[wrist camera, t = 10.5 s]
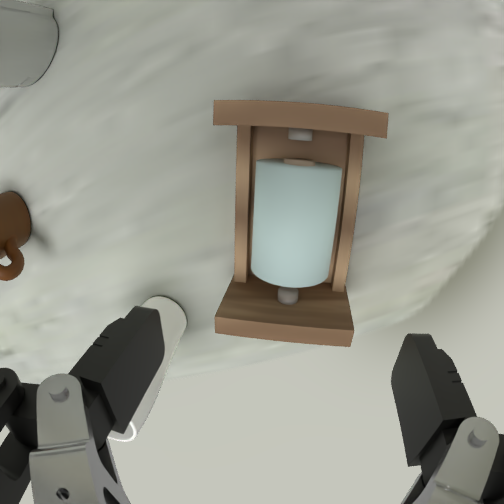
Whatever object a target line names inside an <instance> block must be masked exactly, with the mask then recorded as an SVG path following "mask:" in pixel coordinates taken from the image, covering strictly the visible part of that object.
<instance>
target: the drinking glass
mask: <svg viewBox="0 0 504 504" xmlns="http://www.w3.org/2000/svg"><path fill="white" fill-rule="evenodd" d="M141 307H146V308H152V309H157V310H158V311H159V313H160V319H161V325H162V332H163V338H164V344H165V354H164V358H163V361H162V364H161V366H160V367H159V369H158V371H157V373H156V375H155V377H154V378H153V380H152V382H151V384H150V386H149V388H148V389H147V391H146V393H145V395H144V397H143V399H142V401H141V402H140V404H139V406H138V408H137V410H136V412H135V414H134V416H133V417H132V419H131V421H130V423H129V425H128V427H127V429H126V431H125V433H124V434H121V433H118V432H115V431H112V430H111V432H110V433H109V435H108V438H110V439H113V440H118V441H131V440H133V439H135V438H136V436H137V434H138V432H139V431H140V429H141V427H142V426H143V424H144V422H145V421H146V419H147V417H148V415H149V413H150V411H151V409H152V407H153V405H154V403H155V400H156V398H157V396H158V393H159V391H160V388H161V385H162V383H163V380H164V378H165V375H166V373H167V370H168V368H169V365H170V363H171V360H172V358H173V355H174V353H175V350H176V348H177V346H178V343H179V341H180V339H181V337H182V335H183V333H184V331H185V329H186V325H187V321H186V316H185V314H184V312H183V310H182V309H181V307H180V306H179V305H178V304H177V303H175V302H174V301H172V300H171V299H168V298H166V297H161V296H156V297H152V298H149V299H148V300H146V301H145V302H144V303H143V305H142V306H141Z"/></svg>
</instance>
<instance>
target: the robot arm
mask: <svg viewBox="0 0 504 504" xmlns="http://www.w3.org/2000/svg"><path fill="white" fill-rule="evenodd" d="M57 40H58V28H57V24H56V22H55V20H54V18H53V9H50V8H46V7H42V6H39V5H34V4H30V3H26V2H22V1H17V0H0V88H3V87H10V88H12V87H26V86H29V85H31V84H33V83H35V82H36V81H37V80H38V79H39V78H40V77H41V76H42V75H43V74H44V72H45V71H46V69H47V68H48V66H49V64H50V62H51V60H52V58H53V55H54V53H55V50H56V46H57ZM164 354H165V344H164V338H163V332H162V325H161V319H160V313H159V311H158V310H157V309H152V308H146V307H140V306H135V307H134V308H133V309H132V310H131V311H130V312H129V314H128V315H127V316H126V317H125V318H119V319H118V320H116V321H114V322H113V323H111V324H109V325H108V326H107V327H106V328H105V329H104V331H103V332H102V333H101V334H100V337H98V338H97V339H96V340H95V341H94V343H93V345H91V346H90V347H89V349H88V350H87V351H86V352H85V354H84V355H83V356H82V357H81V358H80V360H79V361H78V362H77V363H76V365H75V366H74V367H73V368H72V370H71V371H70V372H69V373H68V374H56V375H52V376H50V377H48V378H47V379H45V380H44V381H43V382H42V383H41V384H40V385H39V384H29V383H21V382H20V380H19V378H18V376H17V374H16V373H15V372H14V371H13V370H11V369H9V368H0V432H1V430H2V429H3V427H4V426H5V425H6V426H7V428H8V429H9V430H10V433H9V434H8V435H7V437H6V438H5V440H4V442H3V443H2V445H1V446H0V504H19V502H20V500H21V498H22V496H23V494H24V492H25V490H26V488H27V486H28V484H29V482H30V480H31V484H32V492H33V499H34V504H131V503H130V501H129V499H128V497H127V496H126V494H125V492H124V490H123V487H122V485H121V482H120V478H119V475H118V472H117V469H116V465H115V462H114V458H113V455H112V452H111V448H110V444H109V441H108V439H107V437H108V435H109V433H110V432H111V430H112V431H115V432H118V433H121V434H124V433H125V431H126V429H127V427H128V425H129V423H130V421H131V419H132V417H133V416H134V414H135V412H136V410H137V408H138V406H139V404H140V402H141V401H142V399H143V397H144V395H145V393H146V391H147V389H148V388H149V386H150V384H151V382H152V380H153V378H154V377H155V375H156V373H157V371H158V369H159V367H160V366H161V364H162V361H163V358H164ZM391 385H392V390H393V394H394V399H395V403H396V407H397V412H398V417H399V421H400V426H401V431H402V436H403V441H404V446H405V452H406V458H407V464H408V467H409V466H417V465H421V469H422V472H421V473H420V474H419V476H418V477H417V479H416V480H415V482H414V484H413V485H412V487H411V488H410V491H409V492H408V493H407V495H406V496H405V498H404V499H403V501H402V502H401V504H504V435H503V434H498V431H497V430H496V428H495V426H494V425H493V424H492V423H491V422H489V421H488V420H486V419H484V418H481V417H477V416H476V413H475V411H474V408H473V406H472V403H471V401H470V398H469V396H468V394H467V391H466V389H465V387H464V385H463V383H461V378H460V376H459V373H457V369H456V367H455V365H454V363H453V361H452V359H451V358H450V357H449V356H448V355H447V354H446V353H445V352H444V351H443V350H442V349H437V347H436V345H435V343H434V340H433V338H432V336H431V335H430V334H407V336H406V337H405V339H404V341H403V344H402V347H401V350H400V352H399V355H398V357H397V360H396V363H395V365H394V368H393V371H392V377H391Z"/></svg>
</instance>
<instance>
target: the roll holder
mask: <svg viewBox="0 0 504 504" xmlns="http://www.w3.org/2000/svg"><path fill="white" fill-rule="evenodd" d="M213 125H237V158H236V203H235V272H234V276H233V278H232V280H231V282H230V284H229V287H228V289H227V291H226V293H225V295H224V297H223V300H222V302H221V304H220V306H219V308H218V310H217V312H216V315H215V333H219V334H226V335H233V336H241V337H249V338H257V339H265V340H274V341H284V342H294V343H305V344H317V345H330V346H345V347H350V346H351V342H352V338H353V334H354V326H353V321H352V315H351V310H350V305H349V300H348V296H347V291H346V286H345V282H346V276H347V271H348V265H349V259H350V253H351V246H352V240H353V233H354V226H355V219H356V211H357V203H358V195H359V186H360V177H361V167H362V156H363V145H364V135H367V136H374V137H381V138H387V127H388V113H384V112H378V111H372V110H365V109H358V108H350V107H342V106H333V105H324V104H313V103H300V102H284V101H259V100H214V114H213ZM272 158H279V159H284V158H303V159H310V160H314V161H315V162H321V163H327V164H331V165H335V166H338V167H340V168H342V177H341V186H340V195H339V204H338V212H337V219H336V227H335V234H334V241H333V248H332V255H331V261H330V267H329V274H328V277H327V279H326V280H325V281H323V282H322V283H320V284H317V285H314V286H310V287H301V288H293V287H283V286H278V285H274V284H271V283H268V282H266V281H263V280H262V279H260V278H258V277H257V276H256V275H255V274H254V273H253V272H252V270H251V256H252V235H253V215H254V194H255V173H256V161H257V160H260V159H272Z"/></svg>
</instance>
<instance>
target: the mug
mask: <svg viewBox="0 0 504 504" xmlns="http://www.w3.org/2000/svg"><path fill="white" fill-rule="evenodd" d="M30 230H31V223H30V217H29V213H28V210H27V207H26V205H25V203H24V202H23V200H22V199H21V198H20V196H18V195H17V194H16V193H13V192H5V193H1V194H0V259H2V258H3V257H5V256H6V255H7V257H8V258H9V259H10V260H11V261H12V263H11V264H10V265H8V266H2V265H1V264H0V280H4V281H8V280H13V279H14V278H16V277H17V276H18V275H19V274H20V273H21V272H22V270H23V267H24V257H23V255H22V253H21V251H20V250H19V249H18V248H20V247H21V246H23V245H24V244H25V243H26V242H27V240H28V238H29V235H30Z"/></svg>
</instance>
